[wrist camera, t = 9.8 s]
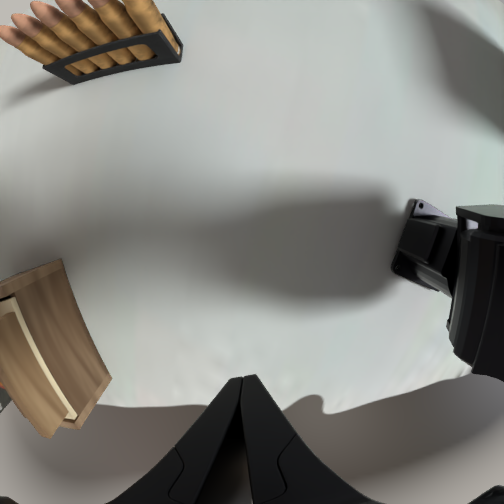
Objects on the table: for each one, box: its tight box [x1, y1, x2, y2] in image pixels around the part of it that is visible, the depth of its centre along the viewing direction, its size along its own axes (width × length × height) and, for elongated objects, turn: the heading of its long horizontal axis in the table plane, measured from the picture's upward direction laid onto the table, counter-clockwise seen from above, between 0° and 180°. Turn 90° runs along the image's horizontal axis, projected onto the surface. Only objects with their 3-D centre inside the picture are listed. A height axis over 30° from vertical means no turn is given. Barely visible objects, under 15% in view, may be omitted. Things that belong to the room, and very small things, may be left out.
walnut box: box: [0, 259, 112, 430], centre depth 18 cm, size 9×13×8 cm
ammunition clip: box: [0, 0, 183, 85], centre depth 11 cm, size 11×2×12 cm, turn 89°
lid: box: [0, 297, 77, 439], centre depth 13 cm, size 8×11×4 cm
